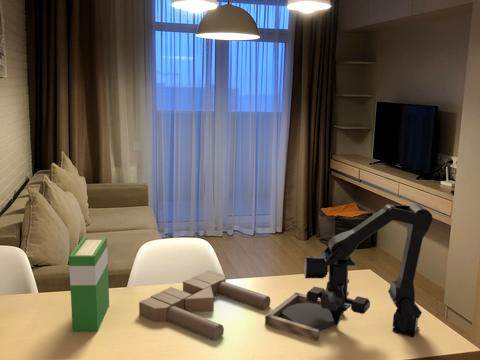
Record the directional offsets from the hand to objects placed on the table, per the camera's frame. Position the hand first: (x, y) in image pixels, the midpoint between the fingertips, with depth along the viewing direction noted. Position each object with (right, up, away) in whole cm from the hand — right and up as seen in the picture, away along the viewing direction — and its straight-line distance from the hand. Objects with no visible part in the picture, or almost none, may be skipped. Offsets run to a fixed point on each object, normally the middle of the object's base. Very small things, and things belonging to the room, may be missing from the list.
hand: (336, 325), depth 155 cm
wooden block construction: (-41, +1, +12) cm, 42 cm away
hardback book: (-77, +1, +4) cm, 77 cm away
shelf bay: (-8, 0, +5) cm, 10 cm away
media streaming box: (-8, 0, +5) cm, 9 cm away
